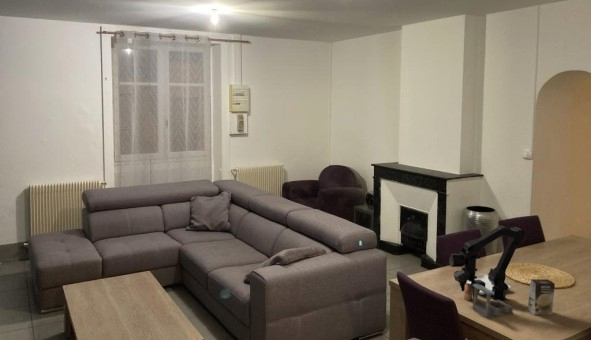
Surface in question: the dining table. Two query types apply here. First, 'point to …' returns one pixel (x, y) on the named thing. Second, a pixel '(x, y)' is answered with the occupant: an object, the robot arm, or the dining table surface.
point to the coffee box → (541, 297)
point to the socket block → (489, 304)
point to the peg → (468, 292)
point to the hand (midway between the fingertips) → (468, 294)
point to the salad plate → (485, 279)
